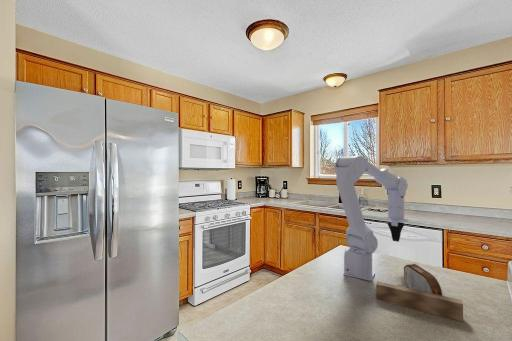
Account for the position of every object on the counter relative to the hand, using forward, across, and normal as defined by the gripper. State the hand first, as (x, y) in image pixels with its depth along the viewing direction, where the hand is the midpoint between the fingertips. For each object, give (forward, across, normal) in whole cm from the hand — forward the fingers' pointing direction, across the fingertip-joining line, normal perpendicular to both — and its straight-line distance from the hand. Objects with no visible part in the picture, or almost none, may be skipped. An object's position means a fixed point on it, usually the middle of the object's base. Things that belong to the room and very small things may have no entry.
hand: (395, 240), depth 98 cm
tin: (+11, -22, -8) cm, 26 cm away
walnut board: (+10, -31, -7) cm, 33 cm away
